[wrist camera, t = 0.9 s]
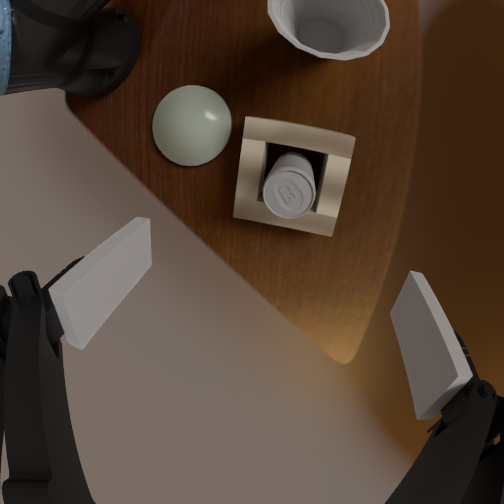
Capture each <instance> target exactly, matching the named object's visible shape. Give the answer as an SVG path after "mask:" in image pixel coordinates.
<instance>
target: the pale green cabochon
mask: <svg viewBox="0 0 504 504" xmlns="http://www.w3.org/2000/svg"><path fill="white" fill-rule="evenodd" d="M152 129H153V136H154V140H155V142H156V144H157V146H158V148H159V150H160V151H161V152H162V153H163V155H164V156H166V157H167V158H168V159H169V160H171V161H173V162H175V163H177V164H180V165H185V166H196V165H201V164H203V163H206V162H208V161H210V160H212V159H213V158H215V157H216V156H218V155H219V154H220V153H221V152H222V151H223V149H224V148H225V147H226V145H227V143H228V141H229V139H230V136H231V132H232V116H231V112H230V109H229V107H228V105H227V103H226V102H225V100H224V99H223V98H222V97H221V96H220V95H219V94H218V93H216V92H215V91H213V90H211V89H209V88H206V87H202V86H196V85H188V86H183V87H180V88H177V89H175V90H173V91H172V92H170V93H169V94H168V95H166V96H165V97H164V98H163V100H162V101H161V102H160V103H159V105H158V107H157V109H156V111H155V114H154V117H153V124H152Z"/></svg>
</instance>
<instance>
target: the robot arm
mask: <svg viewBox="0 0 504 504" xmlns="http://www.w3.org/2000/svg"><path fill="white" fill-rule="evenodd" d="M110 1H111V0H0V96H1V95H6V94H11V93H17V92H24V91H31V90H38V89H47V88H59V89H62V90H64V91H66V92H69V93H71V94H73V95H76V96H79V97H97V96H102V95H104V94H107V93H109V92H110V91H112V90H113V89H115V88H116V87H117V86H119V85H120V84H121V83H122V82H123V81H124V79H125V78H126V77H127V76H128V74H129V73H130V71H131V70H132V68H133V66H134V64H135V62H136V60H137V57H138V54H139V51H140V46H141V30H140V26H139V24H138V22H137V20H136V19H135V17H134V16H132V15H131V14H130V13H128V12H125V11H123V10H120V9H116V8H103V7H104V6H105V5H106V4H107V3H108V2H110ZM151 266H152V259H151V239H150V219H147V218H142V217H136V218H135V219H133V220H132V221H131V222H129V223H128V224H127V225H125V226H124V227H123V228H121V229H120V230H119V231H117V232H116V233H115V234H113V235H112V236H111V237H109V238H108V239H107V240H106V241H104V242H103V243H102V244H101V245H99V246H98V247H97V248H96V249H94V250H93V251H92V252H91V253H89V254H88V255H87V256H86V257H81V258H79V259H77V260H75V261H73V262H72V263H71V264H69V265H68V266H67V267H66V269H63V270H62V271H61V272H60V274H58V275H56V276H55V277H54V278H53V279H52V280H51V281H50V282H48V283H47V284H46V285H45V286H44V287H43V288H42V289H41V288H40V285H39V282H38V278H37V275H36V274H35V273H34V272H33V271H23V272H19V273H17V274H16V275H14V276H13V277H12V278H11V279H10V280H9V282H8V285H9V288H10V291H11V293H12V296H13V297H11V296H8V295H7V293H6V290H5V288H4V287H3V286H1V285H0V472H1V456H2V444H3V436H4V429H5V442H6V452H7V459H8V467H9V479H7V480H6V481H4V482H3V485H2V495H3V500H4V504H96V503H95V502H94V501H93V499H92V497H91V495H90V492H89V489H88V486H87V483H86V480H85V476H84V473H83V470H82V467H81V463H80V459H79V455H78V451H77V447H76V443H75V439H74V434H73V430H72V425H71V419H70V414H69V408H68V401H67V394H66V387H65V378H64V368H63V354H62V344H61V340H60V338H61V336H62V335H63V334H65V336H66V338H67V341H68V343H69V344H71V345H73V346H75V347H77V348H79V349H81V350H83V349H84V347H85V346H86V345H87V343H88V342H89V341H90V339H91V338H92V337H93V336H94V334H95V333H96V332H97V331H98V329H99V328H100V327H101V325H102V324H103V323H104V322H105V320H106V319H107V318H108V317H109V316H110V314H111V313H112V312H113V311H114V309H115V308H116V307H117V306H118V305H119V303H120V302H121V301H122V300H123V299H124V297H125V296H126V295H127V294H128V293H129V292H130V290H131V289H132V288H133V287H134V286H135V284H136V283H137V282H138V281H139V280H140V279H141V277H142V276H143V275H144V274H145V273H146V272H147V271H148V270H149V268H150V267H151ZM390 316H391V319H392V322H393V325H394V328H395V332H396V335H397V338H398V342H399V345H400V349H401V353H402V356H403V360H404V363H405V368H406V371H407V376H408V380H409V383H410V388H411V392H412V397H413V402H414V407H415V412H416V417H417V420H423V419H432V418H433V417H434V416H435V415H436V414H437V413H438V412H439V411H441V414H442V418H441V419H440V420H438V421H437V422H436V423H435V424H434V425H433V426H432V427H431V428H429V429H428V431H427V433H429V432H430V431H431V430H433V431H432V433H431V435H430V437H429V439H428V440H427V442H426V444H425V446H424V447H423V449H422V450H421V452H420V454H419V455H418V457H417V459H416V460H415V462H414V463H413V465H412V467H411V468H410V469H409V471H408V473H407V474H406V476H405V477H404V478H403V480H402V481H401V483H400V484H399V485H398V487H397V488H396V489H395V491H394V492H393V493H392V495H391V496H390V497H389V499H388V500H387V501H386V503H385V504H504V397H500V396H498V395H496V391H495V389H494V388H493V386H492V385H491V384H490V383H489V382H487V381H485V380H480V379H479V376H478V374H477V371H476V369H475V366H474V364H473V362H472V360H471V357H470V356H469V353H468V351H467V349H466V346H465V344H464V342H463V340H462V338H461V337H460V336H459V335H458V333H457V332H456V331H453V329H452V327H451V326H450V323H449V321H448V319H447V317H446V315H445V314H444V311H443V310H442V308H441V306H440V304H439V302H438V300H437V298H436V297H435V295H434V293H433V291H432V290H431V288H430V286H429V284H428V283H427V281H426V279H425V277H424V276H423V274H422V273H418V272H413V271H410V272H409V274H408V277H407V279H406V281H405V283H404V285H403V288H402V290H401V292H400V294H399V296H398V298H397V300H396V302H395V304H394V306H393V308H392V310H391V312H390ZM498 436H500V441H499V442H498V443H497V444H496V445H494V440H495V439H496V438H497V437H498Z"/></svg>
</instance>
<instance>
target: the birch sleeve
mask: <svg viewBox="0 0 504 504" xmlns="http://www.w3.org/2000/svg"><path fill="white" fill-rule="evenodd" d="M269 143H276V144H282V145H288V146H293V147H298V148H303V149H308V150H313V151H318V152H322V153H324V159H323V163H322V168H321V173H320V178H319V183H318V188H317V192H316V197H315V200H314V203H313V205H312V206H311V208H310V209H309V210H308V212H307V213H305V214H304V215H302V216H300V217H298V218H294V219H286V218H281V217H279V216H276V215H275V214H273V213H272V212H271V211H270V210H269V209H268V208H267V206H266V204H265V202H264V198H263V190H262V189H263V183H264V176H265V170H266V163H267V157H268V150H269ZM354 143H355V137H353V136H350V135H348V134H344V133H340V132H336V131H331V130H327V129H322V128H318V127H313V126H308V125H303V124H298V123H292V122H287V121H281V120H275V119H268V118H261V117H254V116H249V117H246V118H245V125H244V132H243V140H242V148H241V155H240V163H239V171H238V179H237V187H236V196H235V204H234V213H233V217H235V218H241V219H246V220H251V221H256V222H262V223H267V224H272V225H277V226H282V227H287V228H292V229H297V230H302V231H307V232H311V233H316V234H321V235H326V236H330V237H332V234H333V231H334V227H335V223H336V219H337V216H338V212H339V208H340V204H341V200H342V196H343V192H344V188H345V183H346V179H347V175H348V171H349V166H350V162H351V157H352V152H353V148H354Z"/></svg>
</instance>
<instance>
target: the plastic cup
mask: <svg viewBox="0 0 504 504" xmlns="http://www.w3.org/2000/svg"><path fill="white" fill-rule="evenodd" d="M268 14H269V16H270V17H271V19H272V21H273V23H274V25H275V27H276V28H277V30H278V32H279V33H280V34H282V35H283V36H284V37H285V38H286V39H288V40H289V41H290V42H291V43H292V44H293V45H295V46H296V47H297V48H299V49H302V50H304V51H305V52H306V53H307V54H309V55H311V56H314V57H316V58H325V59H327V58H329V59H338V60H349V59H353V58H358V57H362V56H367V55H368V54H370V53H371V52H372V51H374V50H375V49H376V48H378V47H379V46H380V45H382V44H383V42H384V40H385V37H386V35H387V33H388V30H389V28H390V24H389V14H388V8H387V6H386V4H385V2H384V1H383V0H268Z"/></svg>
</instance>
